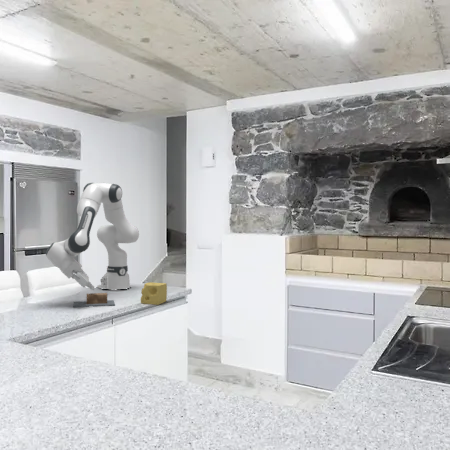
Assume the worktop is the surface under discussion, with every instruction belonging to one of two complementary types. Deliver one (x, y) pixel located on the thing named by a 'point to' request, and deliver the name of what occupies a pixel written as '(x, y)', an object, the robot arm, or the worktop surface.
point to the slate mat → (84, 304)
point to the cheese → (154, 293)
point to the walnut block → (96, 298)
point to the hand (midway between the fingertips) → (93, 288)
